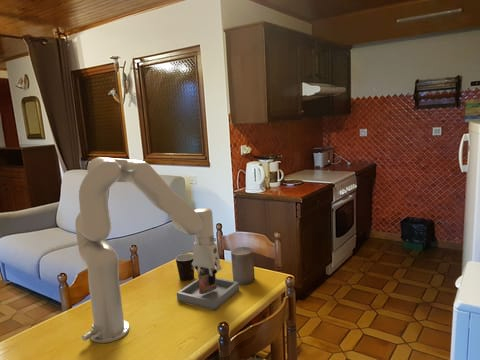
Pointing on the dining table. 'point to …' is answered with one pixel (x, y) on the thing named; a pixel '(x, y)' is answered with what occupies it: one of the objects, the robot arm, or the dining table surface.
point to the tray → (208, 294)
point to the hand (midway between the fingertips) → (207, 282)
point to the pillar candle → (243, 265)
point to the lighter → (205, 281)
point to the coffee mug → (185, 267)
